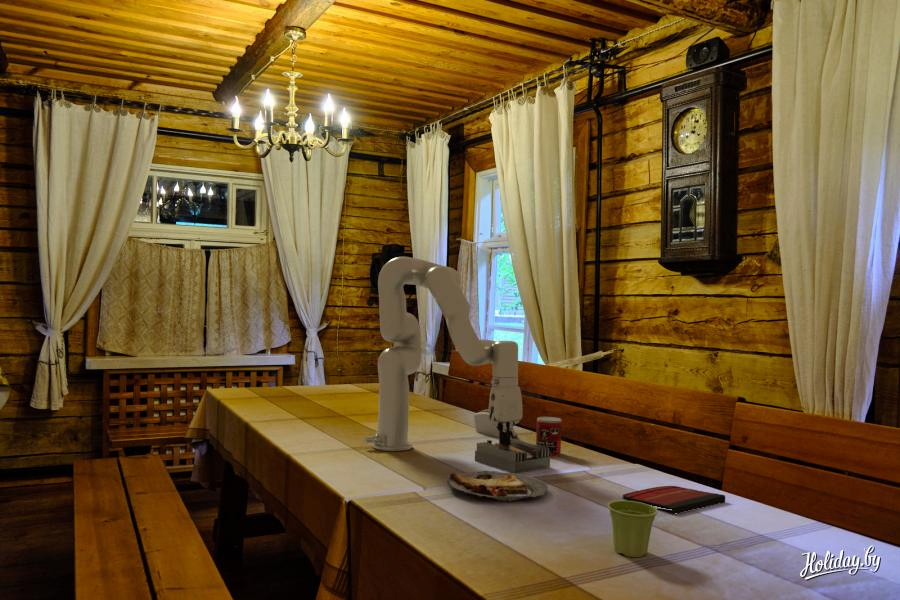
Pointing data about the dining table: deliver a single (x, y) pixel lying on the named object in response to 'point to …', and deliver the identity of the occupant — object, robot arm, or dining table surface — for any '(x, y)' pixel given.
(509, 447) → the orange brown flat bar
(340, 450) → the dining table surface
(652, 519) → the plant pot
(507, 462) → the heatsink
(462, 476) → the food plate
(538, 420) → the canned food
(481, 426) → the white curved block
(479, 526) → the dining table surface
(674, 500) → the binder
